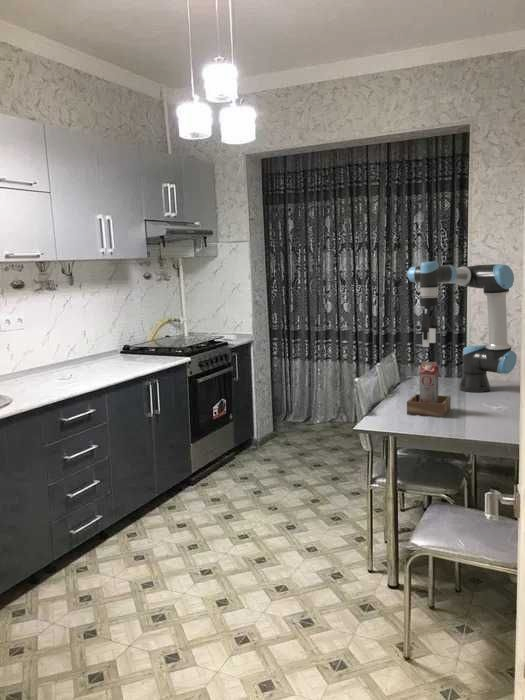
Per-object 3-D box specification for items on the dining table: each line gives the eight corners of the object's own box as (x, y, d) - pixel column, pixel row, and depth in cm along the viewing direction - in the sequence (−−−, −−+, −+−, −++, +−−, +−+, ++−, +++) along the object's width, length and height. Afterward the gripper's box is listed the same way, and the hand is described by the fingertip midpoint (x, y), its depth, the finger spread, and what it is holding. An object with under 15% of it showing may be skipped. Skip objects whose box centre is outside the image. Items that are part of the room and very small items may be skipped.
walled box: (415, 406, 277) (415, 394, 276) (450, 409, 270) (450, 396, 269) (406, 414, 263) (406, 401, 262) (443, 417, 256) (443, 404, 255)
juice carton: (434, 412, 262) (434, 363, 259) (419, 410, 265) (419, 362, 262) (438, 408, 268) (438, 361, 264) (423, 407, 271) (423, 360, 268)
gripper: (426, 295, 272) (426, 340, 275) (413, 299, 250) (414, 348, 253) (443, 295, 268) (443, 341, 271) (431, 299, 246) (431, 349, 249)
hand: (429, 344), depth 262 cm, fingers open, 13 cm apart
